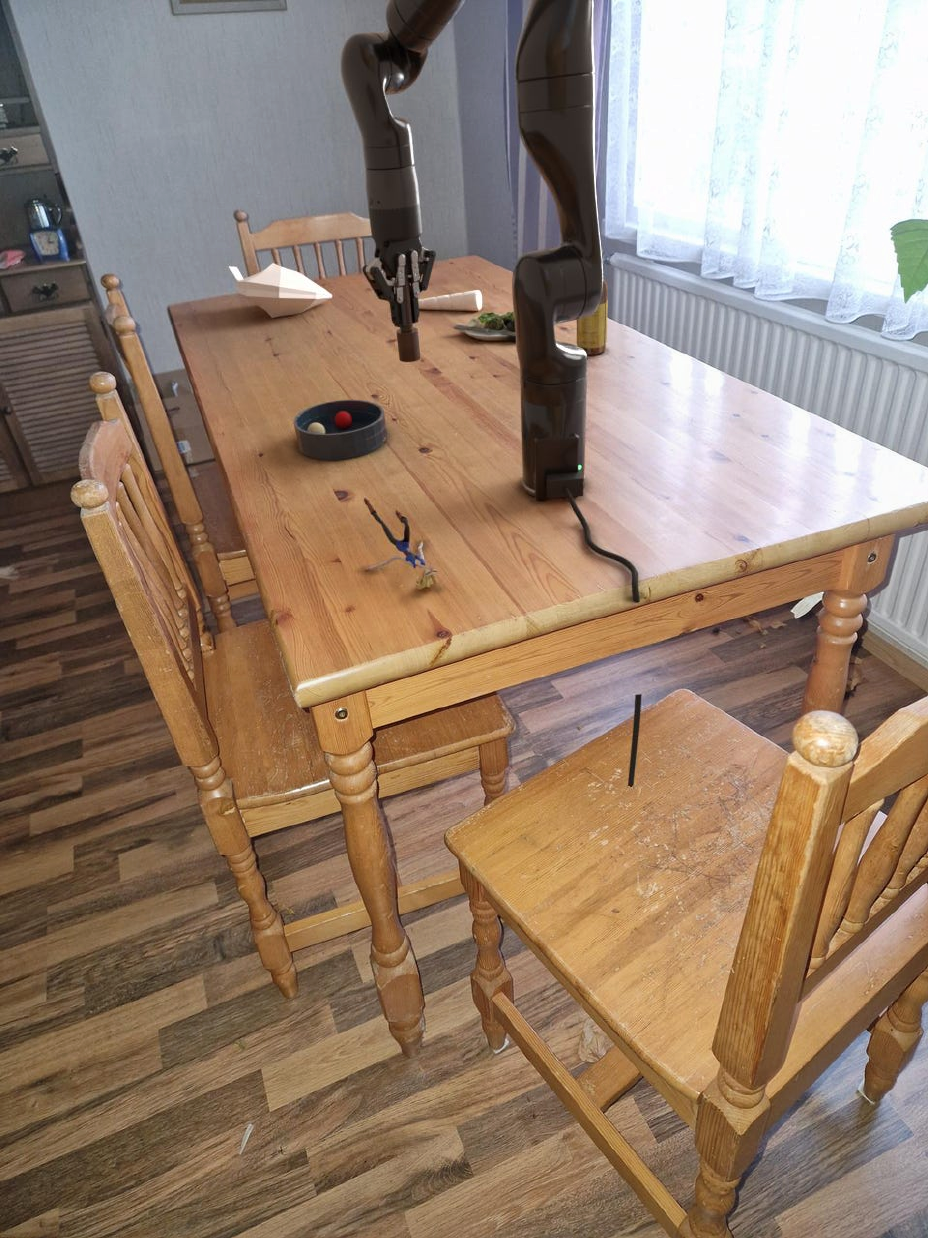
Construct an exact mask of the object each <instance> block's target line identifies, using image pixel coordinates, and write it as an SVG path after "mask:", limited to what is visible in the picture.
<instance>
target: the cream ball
mask: <svg viewBox="0 0 928 1238" xmlns="http://www.w3.org/2000/svg"><path fill="white" fill-rule="evenodd" d="M307 432H312V433H317V434H325V429H324V427H323V426H322V425H321V424H320V423H312V424H310V425H309V427H308V430H307Z"/></svg>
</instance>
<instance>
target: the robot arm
mask: <svg viewBox="0 0 928 1238" xmlns="http://www.w3.org/2000/svg"><path fill="white" fill-rule="evenodd" d="M465 1H466V0H388V1H387V3H386V7H385V11H384V13H385V14H384V15H385V22H386V26H387V30H381V31H368V32H367V31H365V32H358V33H354V34H352V35H350V36H349V37H348V38H347V39H346V40H345V42H344V44H343V47H342V50H341V55H340V75H341V80H342V84H343V87H344V90H345V91H344V92H345V93H346V96H347V99H348V102H349V105H350V107H351V111H352V114H353V116H354V119H355V122H356V124H357V127H358V130H359V133H360V137H361V144H362V152H363V159H364V160H363V161H364V168H365V170H364V171H365V192H366V203H367V209H368V210H367V211H368V216H369V227H370V233H371V238H372V240H373V241H374V243H375V249H374V254H373V255H374V259H372V261H371V262H370V264H364V265H363V266H362V270H361V271H362V273H363V275H364V276H365V278H366V281H368V283H369V285H370V287H371V288H372V290H373V292H374V293H375V295H376V297H377V298H378V300H380V301H385V302H388V304H389V309H390V310H389V311H390V320H391V322H392V324H393V325H394V327H397V328H399V329H400V328H403V327H406V315H405V306H404V302H403V286H404V285H405V275H408V281H409V291H410V302H411V312H412V322H413V325H414V324H417V323H419V318H420V309H419V304H418V300H419V297H420V295H421V293H422V292H423V291H424V292H425V291H428V287H429V284H430V280H431V276H432V272H433V268H434V264H435V259H436V256H437V253H436V251H435V250H432V249H427V248H425V247H424V246H423V242H422V241H421V236H422V234H423V224H422V212H421V200H420V189H419V179H418V175H417V171H416V164H415V155H414V154H415V152H414V142H413V141H414V140H413V132H412V131H413V130H412V127H411V124H410V122H409V120H408V119H407V118H406V117H403V116H400V115H396V114H393V113H392V111H391V108H390V106H389V103H388V99H387V96H390V95H398V94H401V93H403V92H405V91H406V90H408V89H409V88H410V87H411V86H412V85H414V83H415V82H416V81H417V80H418V78H419V77H420V75H421V73H422V70H423V69H424V66H425V64H426V61H427V59H428V57H429V55H430V53H431V50H432V46H433V44H434V43H435V42H436V41H437V39H438V38H439V37H440V36H441V35H442V34H443V32H444V31H445V30H446V28H447V27H448V26H449V25H450V23H451V22H452V20H453V19H454V18H455V17H456V15H457V14H458V13H459V11H460V10H461V9H462V7H463V5H464V3H465ZM528 5H529V6H528V9H527V12H526V15H525V18H524V21H523V25H522V28H521V31H520V35H519V39H518V43H517V48H516V52H515V58H514V66H513V67H514V68H513V70H514V73H513V74H514V75H513V76H514V77H513V78H514V79H513V80H514V95H515V96H514V97H515V98H514V99H515V113H516V114H515V116H516V125H517V131H518V134H519V138H520V140H521V143H522V145H523V147H524V149H525V151H526V152H527V155H528V156H529V158H530V160H531V161H532V163H533V164H534V166H535V168H536V170H537V171H538V173H539V174H540V176H541V178H542V179H543V181H544V183H545V184H546V187H547V188H548V190H549V192H550V194H551V196H552V199H553V201H554V205H555V208H556V213H557V218H558V224H559V234H560V246H555V247H549V248H544V249H537V250H532V251H529V252H525V253H523V254H521V255H520V256H519V257H518V258H517V260H516V262H515V264H514V267H513V271H512V278H511V279H512V280H511V294H512V306H513V311H514V320H515V335H516V341H515V347H516V353H517V357H518V363H519V374H520V375H519V378H520V379H519V381H520V382H519V383H520V428H521V430H520V431H521V432H520V433H521V465H522V466H521V467H522V471H521V472H522V473H521V474H522V477H521V488H522V490H523V491H524V492H525V493H526V494H528V495H529V496H532V497H534V498H535V501H550V500H563V499H565V500H566V499H567V501H568V502H569V503H568V504H569V505H570V506H571V509H572V510H573V512H574V514H575V516H576V518H577V519H578V521H579V523H580V524H581V527H582V529H583V533H584V540H585V542H586V544H587V546H588V547H589V548H590V549H591V550H592V551H593V552H595V553H596V554H598V555H600V556H601V557H605V558H608V559H610V560H613V561H616V562H618V563H620V564H622V565H623V566H625V567H626V568H627V569H628V570H629V572H630V573H631V594H632V601H633V602H634V603H635V604H639V603H640V602H641V599H640V591H639V572H638V569H637V568H636V566H635V565H634V564H633V563H632V562H631V561H630V560H629V559H627V558H626V557H623V556H622V555H619V554H617V553H614V552H611V551H608V550H605V549H603V548H601V547H600V546H597V544H595V542H594V541H593V540H592V535H591V530H590V527H589V524H588V522H587V521H586V519H585V516H584V515H583V513H582V511H581V510H580V508H579V506H578V505H577V501H576V500H575V499H577V498H579V497H584V489H585V487H586V474H585V473H586V472H585V469H586V433H587V432H586V431H587V430H586V428H587V427H586V426H587V425H586V424H587V393H588V390H587V388H588V354H586V352H585V351H584V350H583V349H582V348H580V347H578V346H577V344H576V345H575V344H572V343H568V342H563V341H558V340H556V333H555V325H560V324H564V323H569V322H573V321H577V320H578V319H582V318H586V317H588V316H591V315H592V314H593V313H594V312H595V311H596V310H597V308H598V306H599V304H600V301H601V296H602V290H603V278H604V269H603V266H604V265H603V259H602V254H601V250H602V245H601V235H600V224H599V213H598V203H597V188H596V187H597V186H596V159H595V157H596V155H595V154H596V152H595V150H596V149H595V121H596V120H595V118H596V110H595V109H596V105H595V104H596V90H595V89H596V86H595V85H596V83H595V82H596V81H595V79H596V78H595V75H596V74H594V73H595V56H594V54H595V53H594V0H530V2H529V4H528ZM395 278H396V280H395ZM642 697H643V696H642V694H635V697H634V712H633V713H634V714H633V723H632V724H633V727H632V737H631V749H630V759H629V770H628V781H627V787H628V786H630V787H632V786H633V785H635V777H636V776H635V775H636V766H637V765H636V764H637V756H638V755H637V754H638V746H639V735H640V725H641V711H642ZM633 787H634V786H633Z"/></svg>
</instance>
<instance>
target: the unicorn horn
mask: <svg viewBox="0 0 928 1238" xmlns="http://www.w3.org/2000/svg"><path fill="white" fill-rule="evenodd" d="M418 304H419V310H429V311H430V310H432V311H433V310H434V311H457V312H460V311H461V312H463V311H464V312H465V311H467V312H469V311H470V312H480V311H481V310H482V308H483V295H482V292H481V290H479V289H474V290H468V291H464V292H455V293H450V294H445V295H444V294H443V295H437V296H431V297H425V298H418Z"/></svg>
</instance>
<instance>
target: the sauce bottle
mask: <svg viewBox="0 0 928 1238" xmlns="http://www.w3.org/2000/svg"><path fill="white" fill-rule="evenodd" d="M601 254H602V260H603V259H604V250H603V249H601ZM608 303H609V299H608V284H607V281H606V280H605V278H604V277H603V290H602V296H601V301H600V304H599V306H598V308H597V310H596V311H595V312H594V313H593V314H592V315H591V316H588V317H586V318H582V319H578V320H576V346H578V347H580V348H582V349H583V350H584V351H585V352H586V354H587V356H588V355H590V356H595V355H599V354H602V353H604V352H606V349H607V342H608V308H609V307H608Z"/></svg>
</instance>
